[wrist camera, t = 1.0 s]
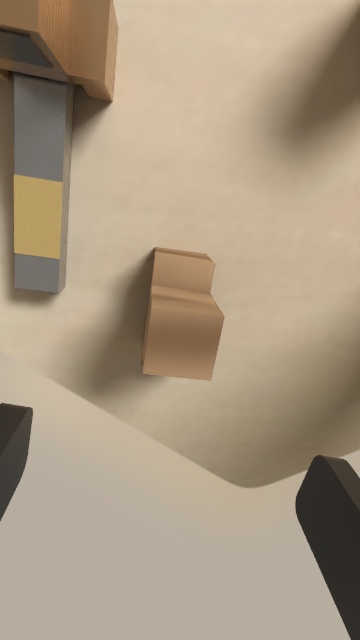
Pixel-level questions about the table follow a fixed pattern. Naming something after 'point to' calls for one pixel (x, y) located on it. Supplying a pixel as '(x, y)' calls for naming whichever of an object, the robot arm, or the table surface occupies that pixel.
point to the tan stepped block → (181, 317)
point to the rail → (50, 118)
